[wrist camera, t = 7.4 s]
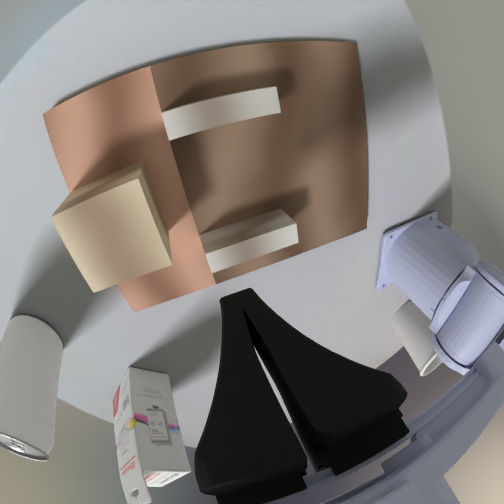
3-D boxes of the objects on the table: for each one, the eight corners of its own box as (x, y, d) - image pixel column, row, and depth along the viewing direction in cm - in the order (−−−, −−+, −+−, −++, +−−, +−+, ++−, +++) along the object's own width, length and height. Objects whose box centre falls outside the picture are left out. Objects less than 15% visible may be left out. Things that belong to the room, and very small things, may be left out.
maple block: (143, 160, 14) (138, 178, 11) (168, 231, 17) (172, 264, 14) (71, 191, 14) (50, 217, 10) (102, 255, 16) (93, 292, 13)
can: (4, 336, 17) (-19, 438, 8) (16, 300, 16) (-21, 419, 7) (53, 364, 21) (46, 466, 11) (72, 335, 20) (62, 456, 10)
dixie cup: (409, 288, 33) (454, 334, 25) (428, 296, 38) (466, 334, 30) (375, 332, 36) (413, 380, 28) (398, 334, 40) (431, 373, 32)
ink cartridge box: (148, 406, 29) (168, 509, 17) (111, 399, 26) (125, 508, 15) (171, 373, 27) (202, 500, 15) (128, 364, 24) (146, 502, 12)
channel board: (347, 44, 14) (379, 40, 12) (360, 223, 24) (384, 241, 21) (48, 113, 11) (24, 117, 8) (134, 303, 20) (134, 335, 18)
